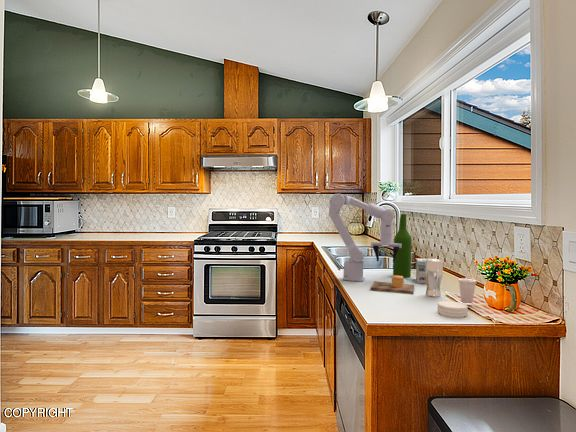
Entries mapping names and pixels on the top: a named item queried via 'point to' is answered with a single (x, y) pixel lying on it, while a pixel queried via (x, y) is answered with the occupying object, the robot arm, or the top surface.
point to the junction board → (388, 287)
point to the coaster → (452, 309)
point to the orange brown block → (397, 281)
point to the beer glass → (433, 276)
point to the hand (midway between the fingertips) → (385, 261)
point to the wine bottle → (403, 251)
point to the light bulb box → (420, 270)
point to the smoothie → (467, 289)
